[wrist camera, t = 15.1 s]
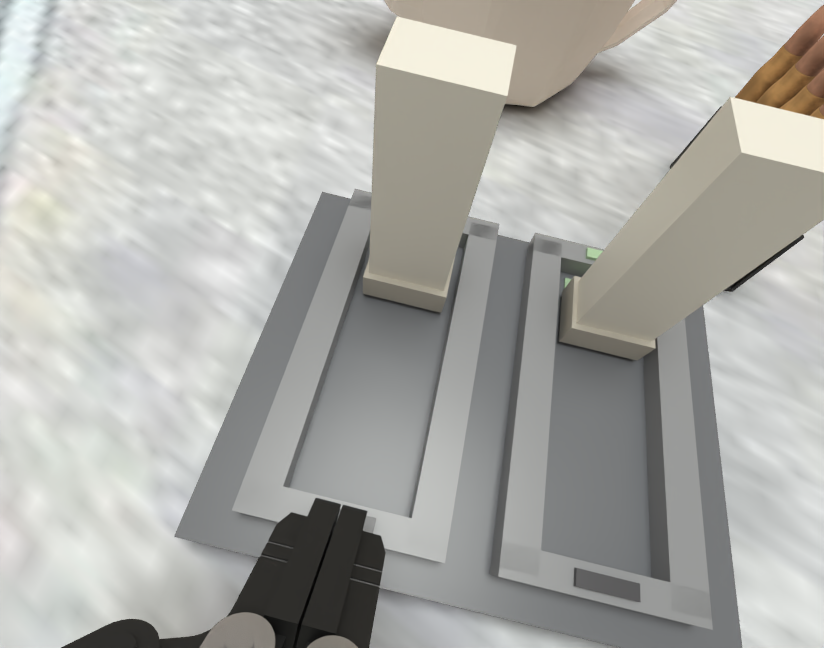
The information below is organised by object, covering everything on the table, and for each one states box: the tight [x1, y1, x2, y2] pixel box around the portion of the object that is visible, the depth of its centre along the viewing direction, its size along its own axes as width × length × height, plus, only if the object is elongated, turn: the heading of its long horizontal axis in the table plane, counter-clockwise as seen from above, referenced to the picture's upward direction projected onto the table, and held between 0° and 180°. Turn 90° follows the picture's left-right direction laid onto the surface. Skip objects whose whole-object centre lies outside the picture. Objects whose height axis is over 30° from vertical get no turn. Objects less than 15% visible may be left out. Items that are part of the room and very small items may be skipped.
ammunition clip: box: [670, 5, 824, 291], centre depth 24 cm, size 11×2×12 cm, turn 176°
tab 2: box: [559, 97, 824, 361], centre depth 17 cm, size 4×3×12 cm
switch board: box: [174, 189, 742, 648], centre depth 21 cm, size 22×18×3 cm
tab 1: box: [363, 17, 517, 313], centre depth 17 cm, size 4×3×12 cm
